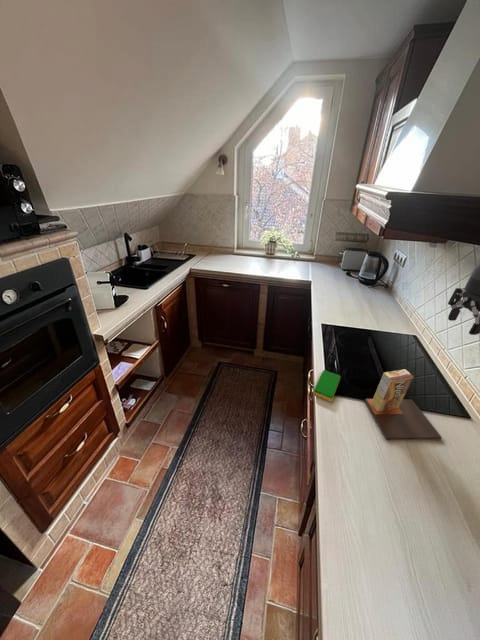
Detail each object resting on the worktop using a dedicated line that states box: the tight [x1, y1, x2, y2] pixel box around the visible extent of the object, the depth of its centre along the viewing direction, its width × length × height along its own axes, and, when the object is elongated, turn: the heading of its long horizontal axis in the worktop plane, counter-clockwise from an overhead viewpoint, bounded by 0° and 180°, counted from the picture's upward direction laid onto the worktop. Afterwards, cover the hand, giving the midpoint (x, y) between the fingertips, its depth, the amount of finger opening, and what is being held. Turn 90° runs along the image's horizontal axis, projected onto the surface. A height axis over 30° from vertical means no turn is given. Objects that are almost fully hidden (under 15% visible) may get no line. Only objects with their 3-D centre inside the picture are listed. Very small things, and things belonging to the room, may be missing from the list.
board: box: [364, 398, 443, 440], centre depth 88 cm, size 18×16×1 cm
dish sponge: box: [312, 369, 342, 402], centre depth 100 cm, size 7×14×2 cm, turn 149°
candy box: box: [371, 368, 415, 412], centre depth 88 cm, size 9×4×15 cm, turn 104°
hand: (461, 326), depth 79 cm, fingers open, 8 cm apart
